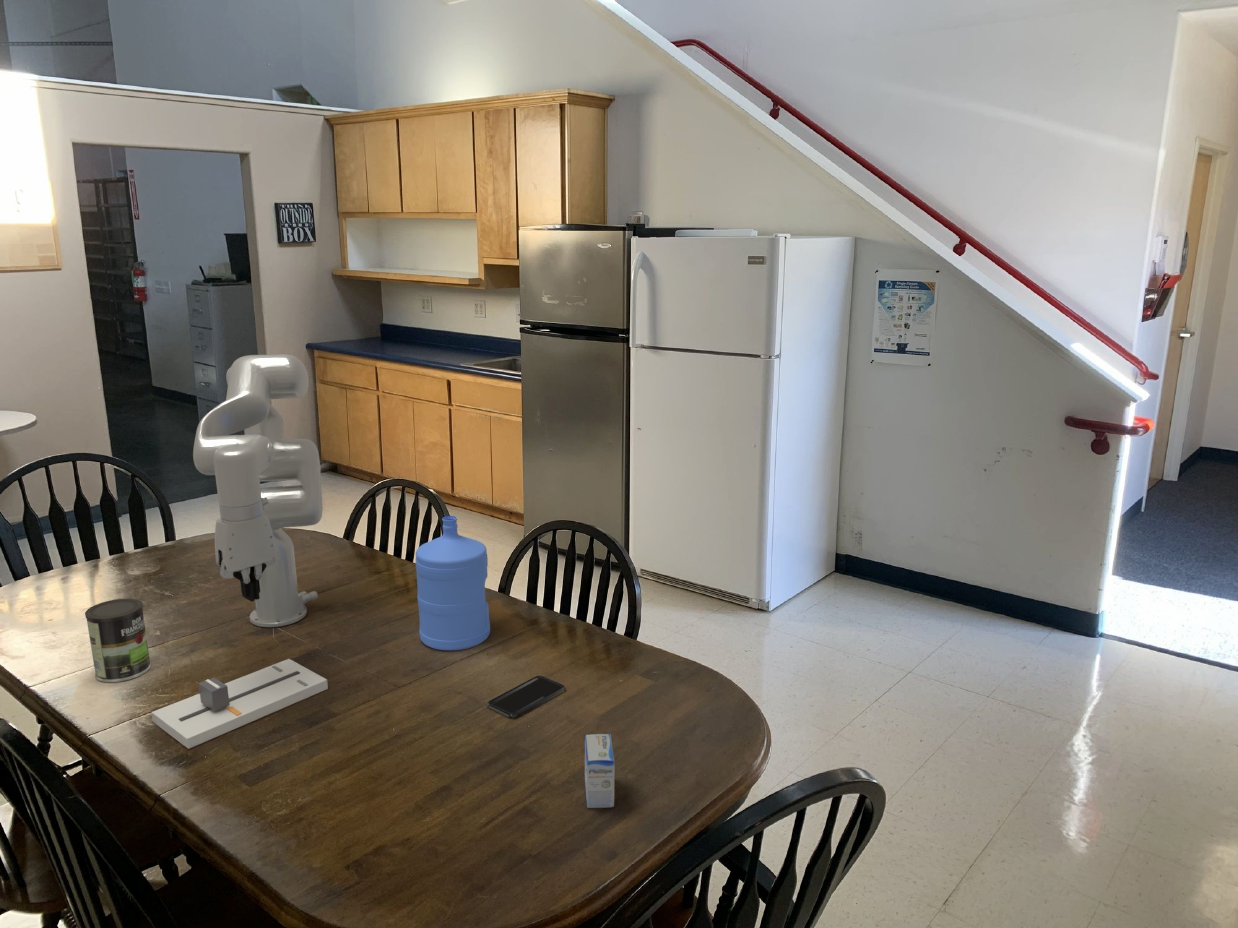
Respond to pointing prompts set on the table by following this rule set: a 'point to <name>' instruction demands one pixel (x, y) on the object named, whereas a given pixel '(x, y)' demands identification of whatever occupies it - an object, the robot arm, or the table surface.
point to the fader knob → (214, 694)
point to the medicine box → (599, 771)
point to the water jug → (452, 590)
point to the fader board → (240, 703)
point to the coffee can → (118, 640)
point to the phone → (525, 697)
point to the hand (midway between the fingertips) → (251, 598)
